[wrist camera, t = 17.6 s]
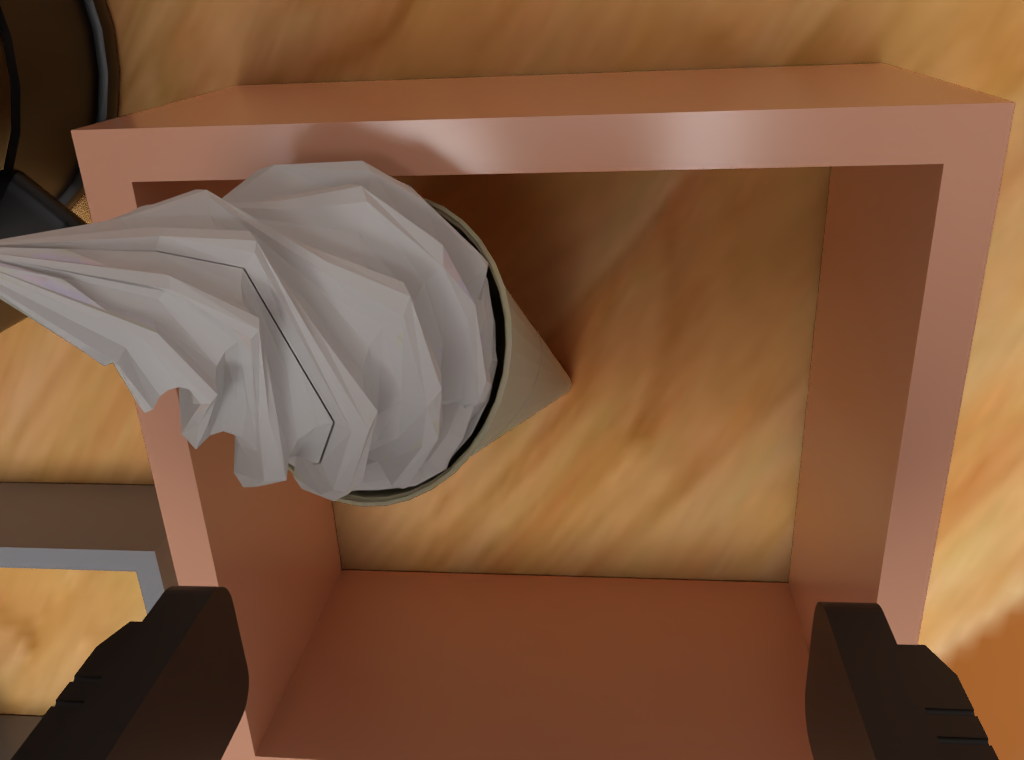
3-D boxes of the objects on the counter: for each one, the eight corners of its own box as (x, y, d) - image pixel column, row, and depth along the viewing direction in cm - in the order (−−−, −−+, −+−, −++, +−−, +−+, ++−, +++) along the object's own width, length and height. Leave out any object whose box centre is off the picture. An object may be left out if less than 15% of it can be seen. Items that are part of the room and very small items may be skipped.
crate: (-107, 480, 25) (-195, 541, 22) (207, 486, 24) (154, 551, 21) (-14, 727, 29) (-80, 806, 26) (261, 742, 28) (222, 825, 25)
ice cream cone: (709, 397, 20) (221, 274, 6) (545, 531, 21) (-137, 662, 8) (579, 237, 21) (-27, -133, 8) (435, 371, 23) (-283, 250, 9)
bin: (236, 85, 19) (70, 130, 13) (882, 63, 18) (1015, 101, 12) (317, 592, 25) (225, 781, 19) (816, 608, 23) (885, 820, 17)
